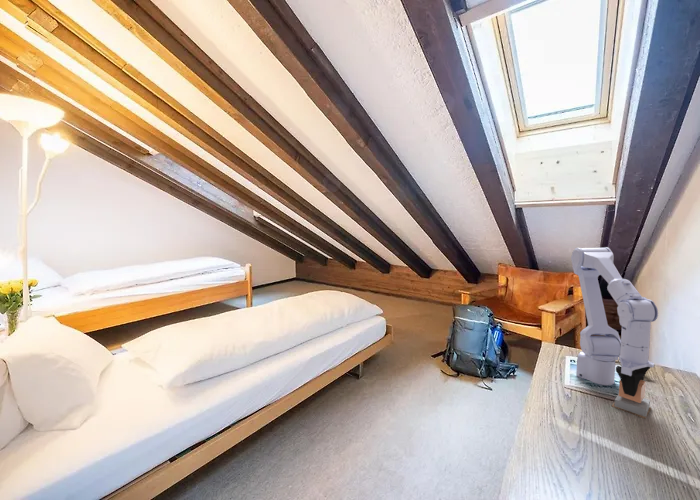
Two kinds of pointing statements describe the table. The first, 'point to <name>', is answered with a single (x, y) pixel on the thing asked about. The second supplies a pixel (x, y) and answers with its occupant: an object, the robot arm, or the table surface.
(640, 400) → the terracotta block
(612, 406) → the walnut slab
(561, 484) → the table surface
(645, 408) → the slate slab
